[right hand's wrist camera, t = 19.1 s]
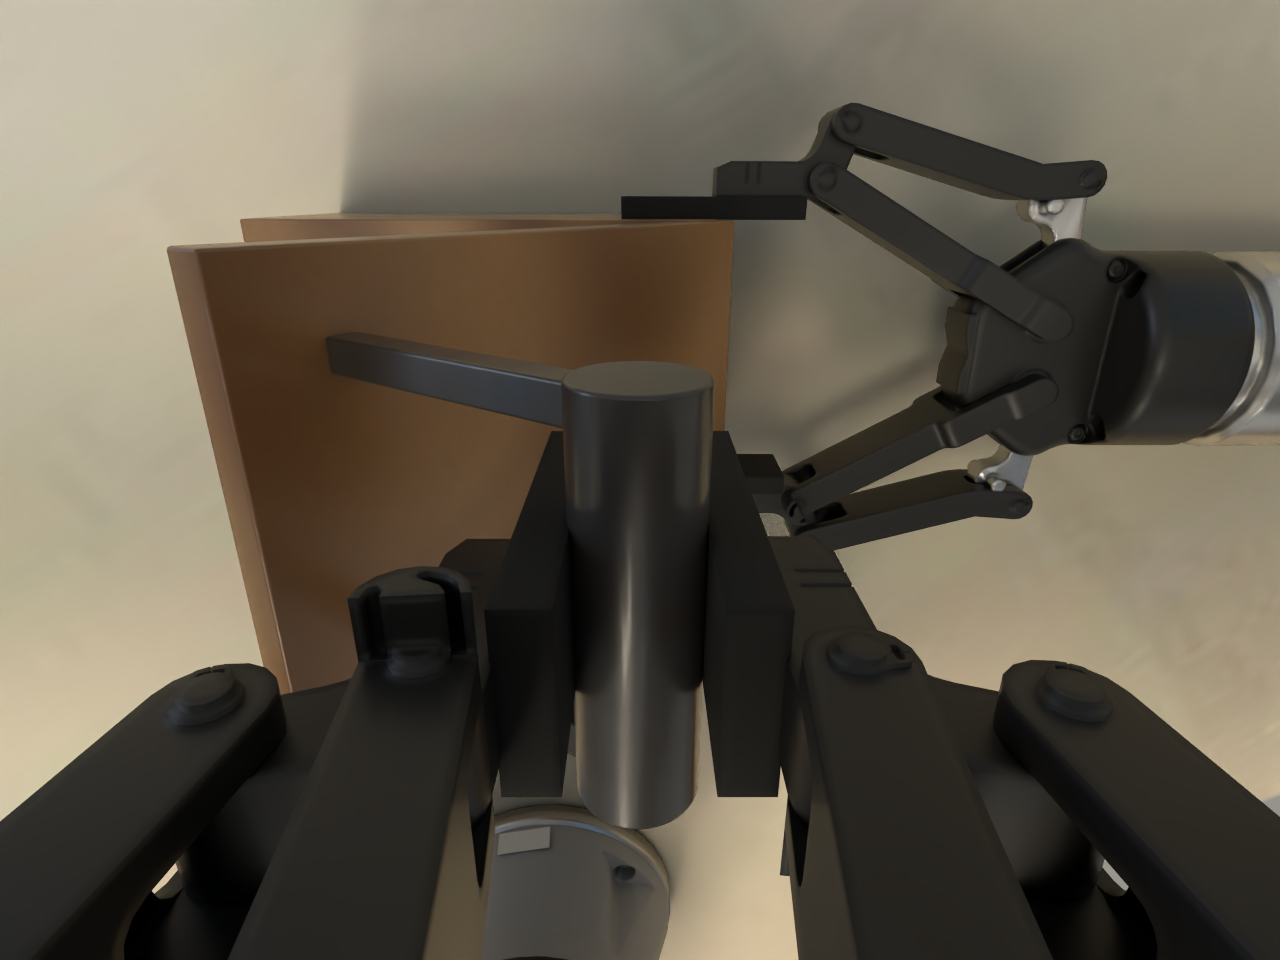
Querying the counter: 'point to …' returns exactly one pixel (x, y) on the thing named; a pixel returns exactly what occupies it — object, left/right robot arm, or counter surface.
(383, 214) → the chest
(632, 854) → the left robot arm
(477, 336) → the lid
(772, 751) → the right robot arm
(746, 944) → the counter surface
